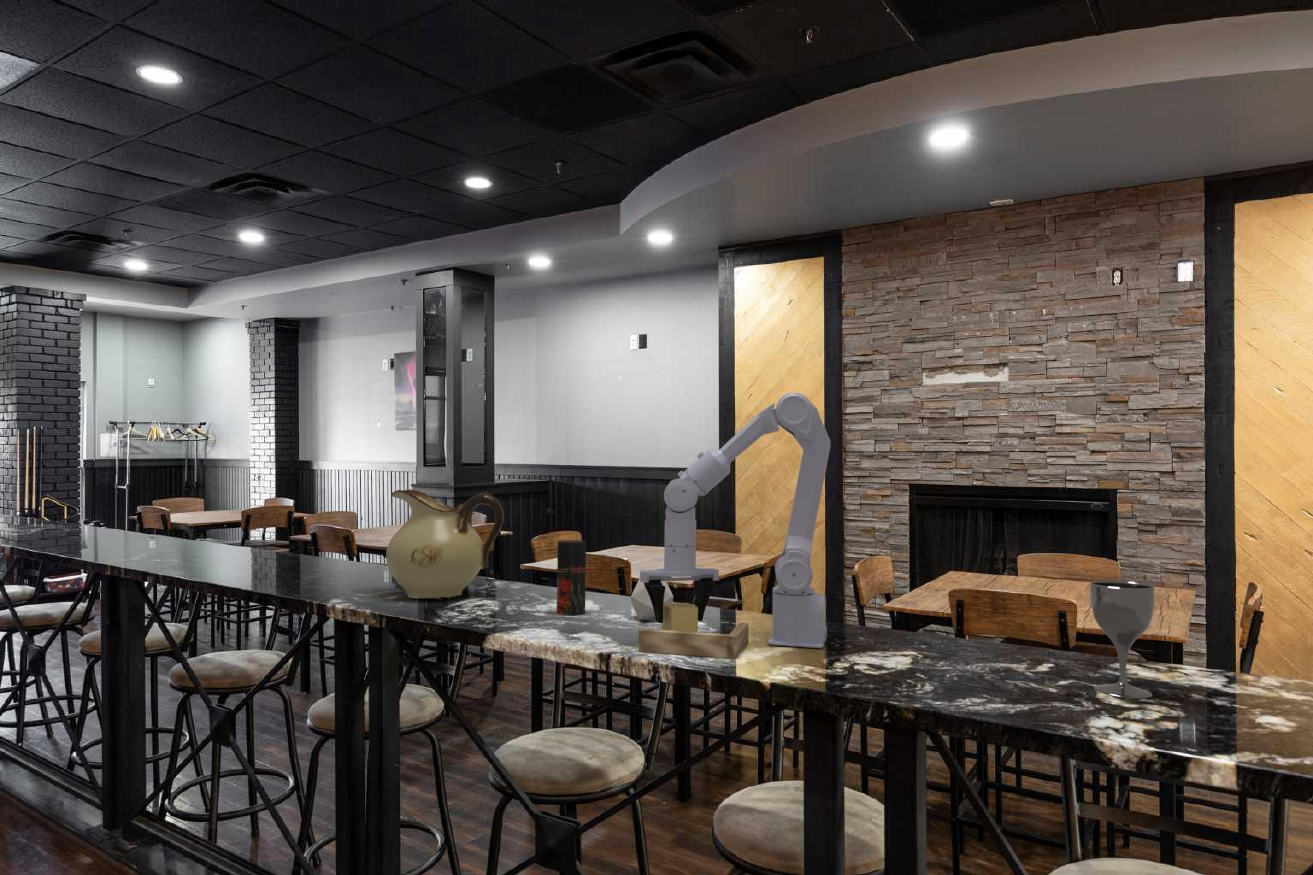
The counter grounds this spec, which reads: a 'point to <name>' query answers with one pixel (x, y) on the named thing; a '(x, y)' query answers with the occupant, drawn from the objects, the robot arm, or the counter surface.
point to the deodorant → (571, 577)
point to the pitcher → (439, 545)
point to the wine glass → (1122, 624)
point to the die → (647, 601)
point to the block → (680, 617)
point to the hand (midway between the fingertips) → (679, 621)
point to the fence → (695, 642)
